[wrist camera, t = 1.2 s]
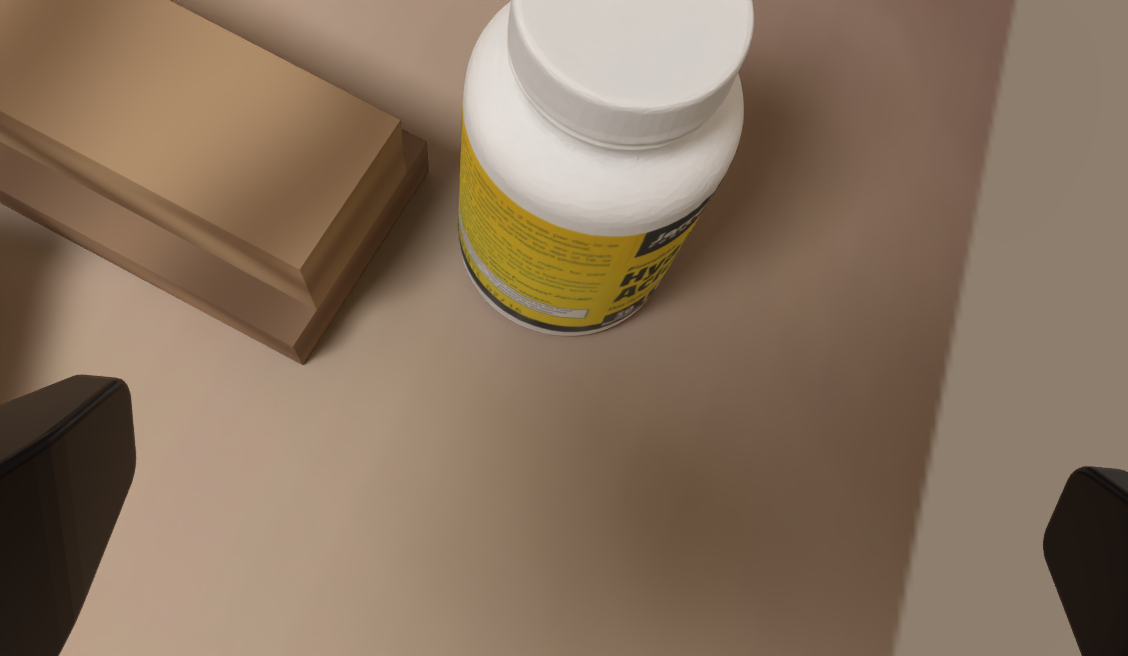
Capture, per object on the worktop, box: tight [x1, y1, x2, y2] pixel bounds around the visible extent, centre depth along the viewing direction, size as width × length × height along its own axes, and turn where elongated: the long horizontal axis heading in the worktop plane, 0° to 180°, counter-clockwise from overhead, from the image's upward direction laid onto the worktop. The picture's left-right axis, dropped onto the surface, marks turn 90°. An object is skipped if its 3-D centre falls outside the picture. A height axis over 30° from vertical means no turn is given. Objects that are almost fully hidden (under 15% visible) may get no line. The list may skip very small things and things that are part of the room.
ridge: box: [0, 0, 428, 365], centre depth 22 cm, size 14×6×4 cm, turn 63°
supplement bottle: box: [458, 0, 754, 336], centre depth 20 cm, size 5×5×10 cm
